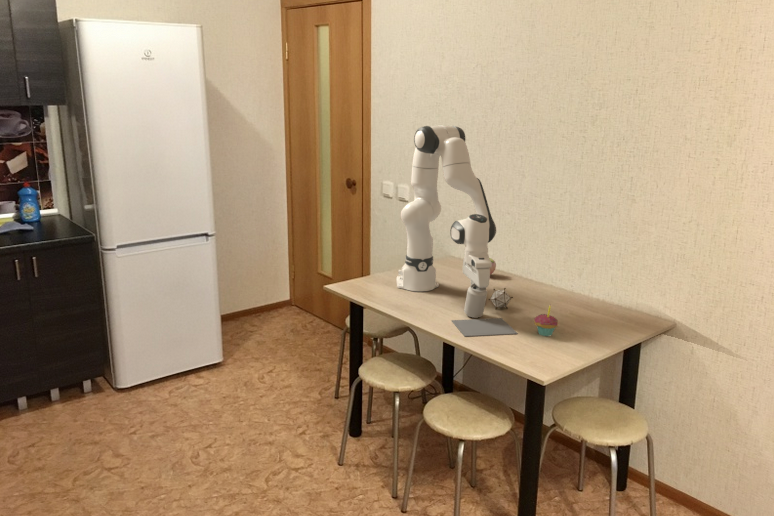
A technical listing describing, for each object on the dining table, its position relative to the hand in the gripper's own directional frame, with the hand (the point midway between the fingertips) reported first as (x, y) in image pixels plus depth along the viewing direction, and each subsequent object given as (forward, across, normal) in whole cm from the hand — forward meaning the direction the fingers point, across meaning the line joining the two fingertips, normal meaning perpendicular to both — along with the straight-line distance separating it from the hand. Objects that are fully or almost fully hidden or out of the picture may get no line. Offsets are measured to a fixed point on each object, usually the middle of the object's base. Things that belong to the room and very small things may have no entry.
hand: (474, 291), depth 254 cm
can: (+8, +2, -1) cm, 9 cm away
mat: (+9, +15, -1) cm, 18 cm away
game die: (+10, -4, +13) cm, 17 cm away
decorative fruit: (+10, -48, +24) cm, 55 cm away
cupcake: (+9, +25, +18) cm, 32 cm away
